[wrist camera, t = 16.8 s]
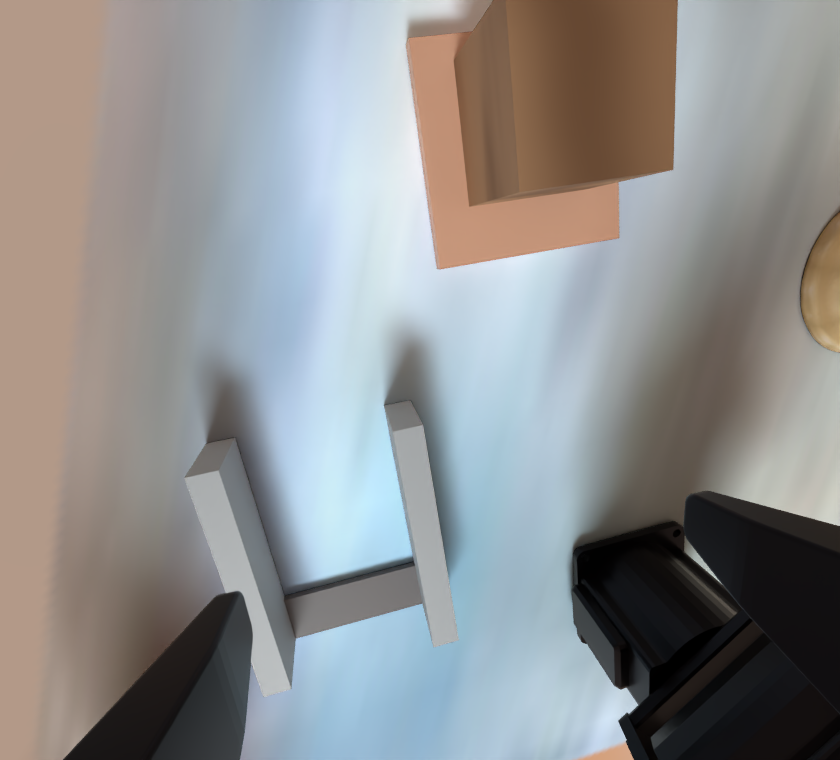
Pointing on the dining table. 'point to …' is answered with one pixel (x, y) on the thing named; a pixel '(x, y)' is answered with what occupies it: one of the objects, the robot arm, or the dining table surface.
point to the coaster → (447, 187)
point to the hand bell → (823, 288)
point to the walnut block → (566, 96)
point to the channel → (334, 603)
